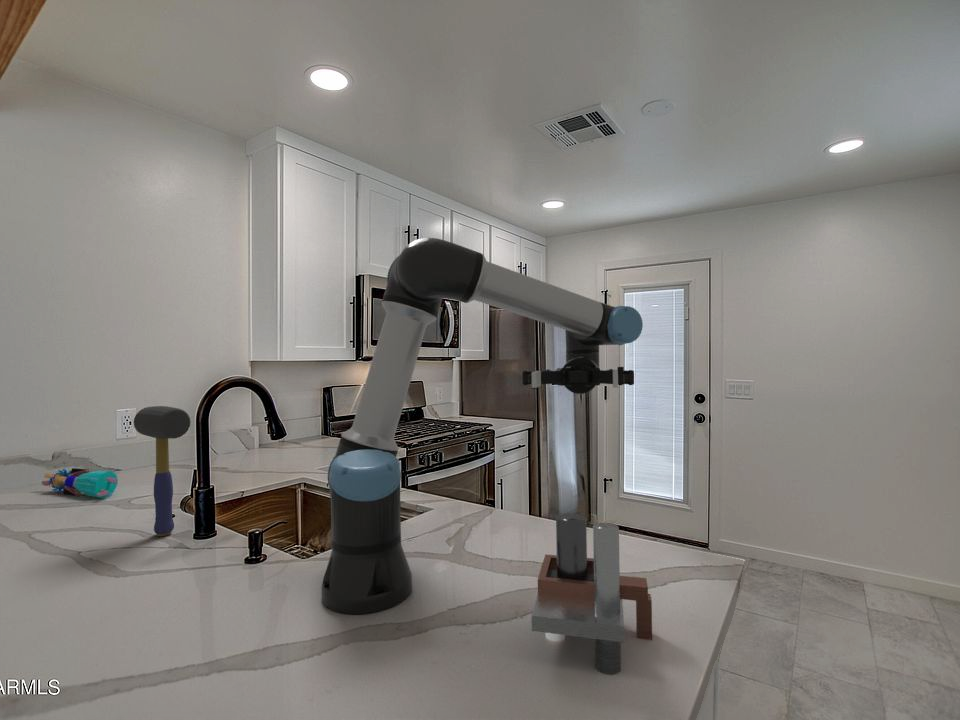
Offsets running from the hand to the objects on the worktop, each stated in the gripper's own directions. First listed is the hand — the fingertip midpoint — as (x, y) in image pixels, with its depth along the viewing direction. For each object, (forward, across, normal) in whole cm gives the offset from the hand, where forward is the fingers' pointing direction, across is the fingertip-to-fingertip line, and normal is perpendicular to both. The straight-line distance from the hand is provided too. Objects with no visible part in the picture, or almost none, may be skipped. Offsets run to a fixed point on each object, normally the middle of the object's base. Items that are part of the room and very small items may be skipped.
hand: (573, 379), depth 82 cm
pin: (+11, 0, -36) cm, 38 cm away
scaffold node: (+14, -3, -36) cm, 39 cm away
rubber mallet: (-7, +95, -36) cm, 102 cm away
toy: (-30, +153, -36) cm, 160 cm away
